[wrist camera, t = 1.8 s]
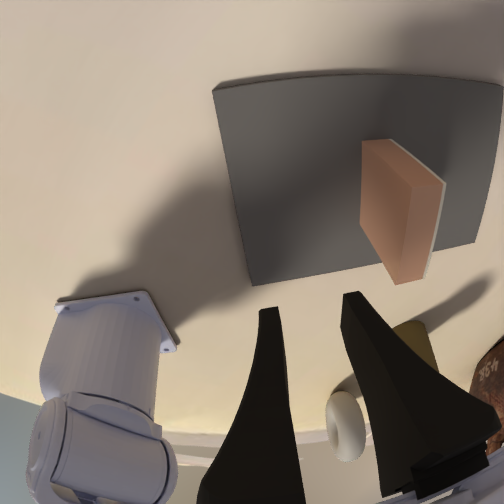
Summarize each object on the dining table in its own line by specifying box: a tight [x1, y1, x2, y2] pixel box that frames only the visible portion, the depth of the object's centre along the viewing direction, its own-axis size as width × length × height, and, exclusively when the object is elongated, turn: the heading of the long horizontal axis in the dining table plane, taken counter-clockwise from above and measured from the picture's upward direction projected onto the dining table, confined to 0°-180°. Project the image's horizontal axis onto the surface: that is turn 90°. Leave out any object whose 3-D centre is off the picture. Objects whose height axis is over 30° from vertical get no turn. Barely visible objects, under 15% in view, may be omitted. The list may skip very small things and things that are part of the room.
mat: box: [212, 74, 504, 286], centre depth 19 cm, size 20×14×1 cm
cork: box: [393, 321, 439, 372], centre depth 27 cm, size 6×6×11 cm
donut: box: [326, 391, 366, 462], centre depth 35 cm, size 10×4×10 cm, turn 5°
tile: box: [360, 139, 446, 285], centre depth 17 cm, size 2×6×6 cm, turn 8°
